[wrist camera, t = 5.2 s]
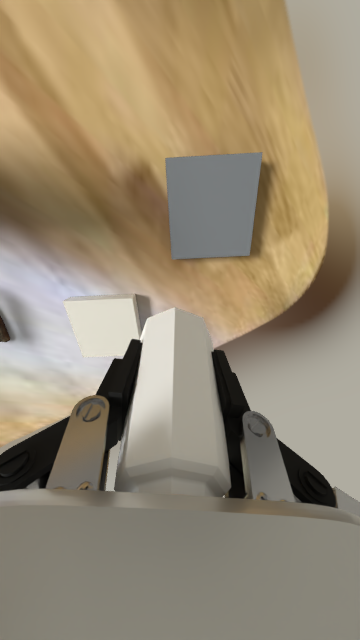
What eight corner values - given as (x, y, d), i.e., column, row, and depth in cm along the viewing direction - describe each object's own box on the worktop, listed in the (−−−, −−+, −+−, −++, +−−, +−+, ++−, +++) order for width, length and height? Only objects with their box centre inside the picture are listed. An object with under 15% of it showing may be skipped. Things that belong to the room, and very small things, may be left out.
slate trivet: (166, 165, 20) (165, 158, 18) (254, 160, 20) (262, 152, 18) (172, 257, 24) (171, 259, 22) (244, 254, 24) (249, 255, 22)
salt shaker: (135, 306, 12) (-97, 702, 2) (214, 305, 12) (409, 687, 2) (143, 368, 14) (63, 679, 4) (209, 367, 14) (281, 673, 4)
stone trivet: (70, 296, 27) (62, 301, 25) (135, 293, 26) (132, 298, 25) (88, 350, 31) (83, 357, 29) (144, 347, 31) (142, 354, 29)
